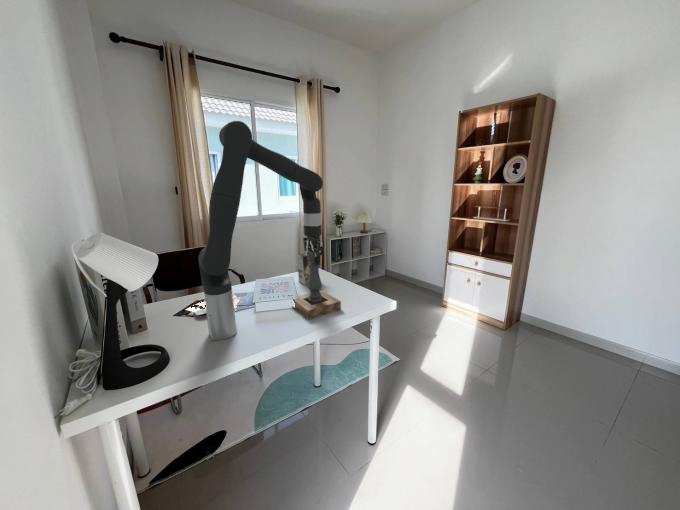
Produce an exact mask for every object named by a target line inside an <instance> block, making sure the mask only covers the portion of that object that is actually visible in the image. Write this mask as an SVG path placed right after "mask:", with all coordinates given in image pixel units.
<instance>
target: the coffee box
mask: <svg viewBox="0 0 680 510" xmlns="http://www.w3.org/2000/svg"><path fill="white" fill-rule="evenodd" d="M309 263H310V262H308V258H307V252H302V253H301V252H300V253H297V268H298V269H297V271H298V283H301V284H303V285H308V281H309V276H310V267H309V266H308V264H309Z"/></svg>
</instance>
